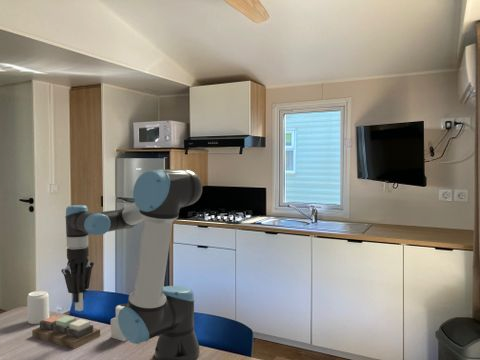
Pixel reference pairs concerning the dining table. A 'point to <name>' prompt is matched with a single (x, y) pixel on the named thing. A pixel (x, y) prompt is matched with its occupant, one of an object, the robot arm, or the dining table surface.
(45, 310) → the white canister
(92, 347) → the dining table surface
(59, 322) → the sage button
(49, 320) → the terracotta button
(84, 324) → the cream button
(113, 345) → the dining table surface
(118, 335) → the medicine bottle
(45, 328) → the button panel
